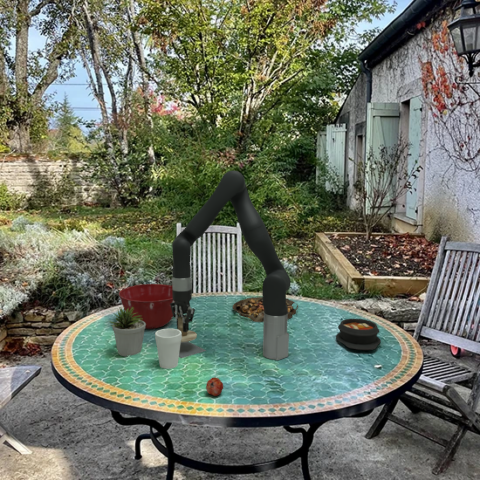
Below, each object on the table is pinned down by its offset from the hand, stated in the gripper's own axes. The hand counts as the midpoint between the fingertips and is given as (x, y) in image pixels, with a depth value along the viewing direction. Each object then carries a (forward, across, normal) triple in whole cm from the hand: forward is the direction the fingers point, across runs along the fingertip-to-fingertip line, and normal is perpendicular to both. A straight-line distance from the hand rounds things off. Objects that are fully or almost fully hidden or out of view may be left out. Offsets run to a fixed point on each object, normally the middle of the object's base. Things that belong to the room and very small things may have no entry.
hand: (182, 330), depth 190 cm
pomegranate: (+9, -36, +13) cm, 40 cm away
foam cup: (+9, -9, +13) cm, 18 cm away
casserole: (+10, -40, -62) cm, 74 cm away
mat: (+8, +1, 0) cm, 9 cm away
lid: (+3, 0, 0) cm, 3 cm away
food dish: (+9, +15, -62) cm, 65 cm away
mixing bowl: (+8, +36, -7) cm, 37 cm away
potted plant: (+8, +12, +18) cm, 23 cm away
